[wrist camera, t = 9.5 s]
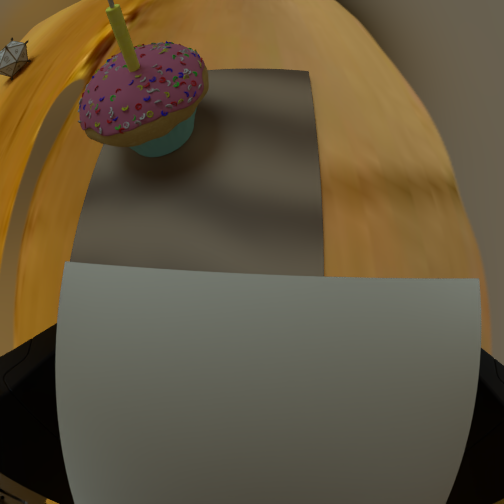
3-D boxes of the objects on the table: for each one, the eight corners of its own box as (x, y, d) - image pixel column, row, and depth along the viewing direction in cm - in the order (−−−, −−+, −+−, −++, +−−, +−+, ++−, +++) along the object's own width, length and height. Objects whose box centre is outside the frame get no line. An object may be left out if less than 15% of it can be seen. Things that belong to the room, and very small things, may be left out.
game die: (30, 76, 32) (30, 36, 26) (33, 70, 28) (34, 24, 22) (-7, 91, 27) (-7, 49, 21) (-9, 86, 22) (-9, 39, 16)
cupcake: (242, 132, 17) (224, -36, 6) (137, 206, 16) (20, 64, 5) (180, 82, 20) (146, -37, 8) (96, 138, 18) (23, 32, 7)
